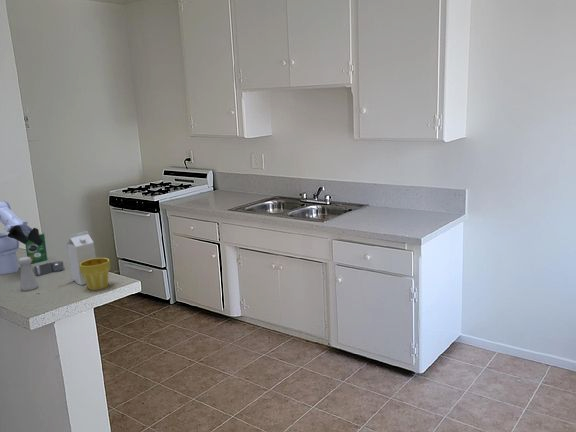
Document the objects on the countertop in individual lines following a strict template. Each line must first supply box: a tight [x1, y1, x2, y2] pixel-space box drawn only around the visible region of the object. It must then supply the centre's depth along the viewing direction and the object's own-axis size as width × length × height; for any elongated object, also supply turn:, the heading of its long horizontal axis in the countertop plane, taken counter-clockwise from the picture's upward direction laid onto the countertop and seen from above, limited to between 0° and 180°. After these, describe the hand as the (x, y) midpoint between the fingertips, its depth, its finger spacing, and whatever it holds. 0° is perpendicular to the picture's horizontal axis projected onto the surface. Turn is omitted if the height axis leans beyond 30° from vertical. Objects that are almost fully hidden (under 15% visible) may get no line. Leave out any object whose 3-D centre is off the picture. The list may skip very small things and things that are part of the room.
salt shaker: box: [17, 256, 39, 292], centre depth 195 cm, size 6×6×13 cm
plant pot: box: [79, 257, 111, 291], centre depth 196 cm, size 10×10×10 cm
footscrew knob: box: [34, 260, 65, 277], centre depth 215 cm, size 11×5×4 cm, turn 138°
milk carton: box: [66, 230, 97, 286], centre depth 203 cm, size 7×7×19 cm
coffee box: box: [24, 232, 49, 265], centre depth 234 cm, size 8×3×13 cm, turn 110°
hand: (33, 242), depth 208 cm, fingers open, 7 cm apart
